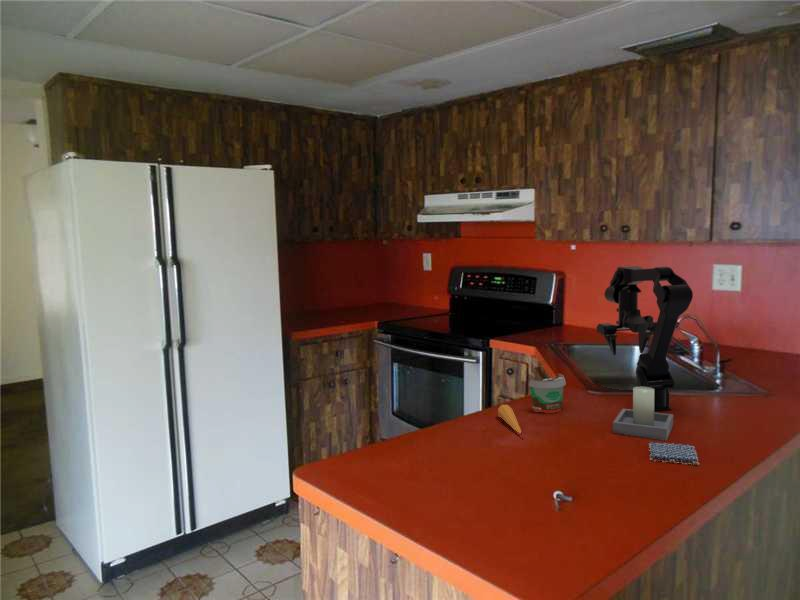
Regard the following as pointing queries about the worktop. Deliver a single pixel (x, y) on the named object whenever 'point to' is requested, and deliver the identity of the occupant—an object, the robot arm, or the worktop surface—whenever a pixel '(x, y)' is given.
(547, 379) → the food container
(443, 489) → the worktop surface
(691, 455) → the woven mat
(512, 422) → the carrot
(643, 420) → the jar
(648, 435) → the tray
